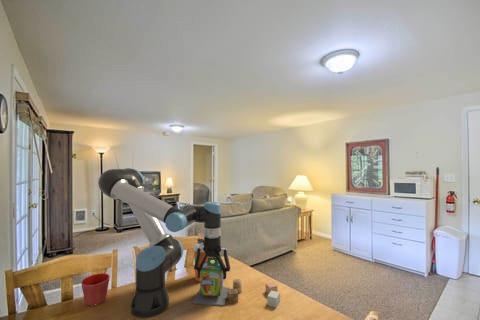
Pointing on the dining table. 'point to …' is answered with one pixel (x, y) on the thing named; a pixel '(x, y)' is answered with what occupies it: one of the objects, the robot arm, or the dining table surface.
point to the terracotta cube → (271, 287)
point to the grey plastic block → (274, 298)
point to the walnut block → (232, 295)
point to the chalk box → (211, 278)
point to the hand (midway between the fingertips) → (212, 285)
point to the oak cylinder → (237, 285)
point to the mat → (212, 298)
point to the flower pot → (95, 288)
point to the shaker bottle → (196, 246)
